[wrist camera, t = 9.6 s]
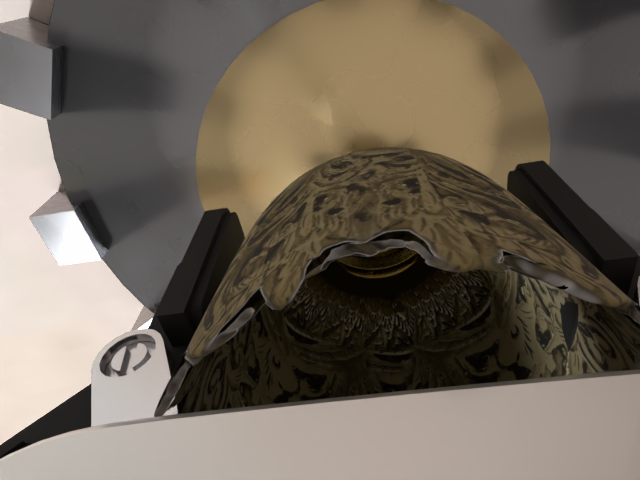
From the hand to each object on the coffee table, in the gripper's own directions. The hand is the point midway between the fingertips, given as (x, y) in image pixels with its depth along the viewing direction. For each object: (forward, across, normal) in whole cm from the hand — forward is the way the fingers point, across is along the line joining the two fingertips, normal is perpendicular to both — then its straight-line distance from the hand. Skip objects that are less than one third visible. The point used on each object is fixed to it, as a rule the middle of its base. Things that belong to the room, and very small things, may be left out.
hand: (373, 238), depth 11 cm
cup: (+2, 0, 0) cm, 2 cm away
